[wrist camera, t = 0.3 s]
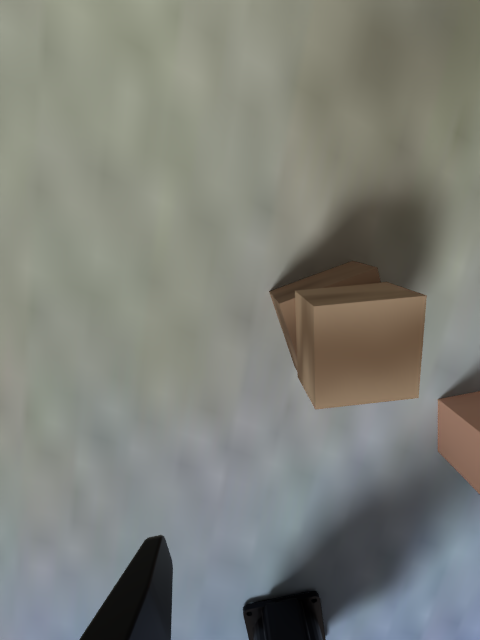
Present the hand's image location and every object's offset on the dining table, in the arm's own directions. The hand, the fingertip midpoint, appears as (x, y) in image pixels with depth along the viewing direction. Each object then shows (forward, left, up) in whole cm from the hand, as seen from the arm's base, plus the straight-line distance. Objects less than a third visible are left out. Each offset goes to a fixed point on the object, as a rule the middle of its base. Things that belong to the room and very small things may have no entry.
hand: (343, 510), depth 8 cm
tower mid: (0, -4, -11) cm, 11 cm away
